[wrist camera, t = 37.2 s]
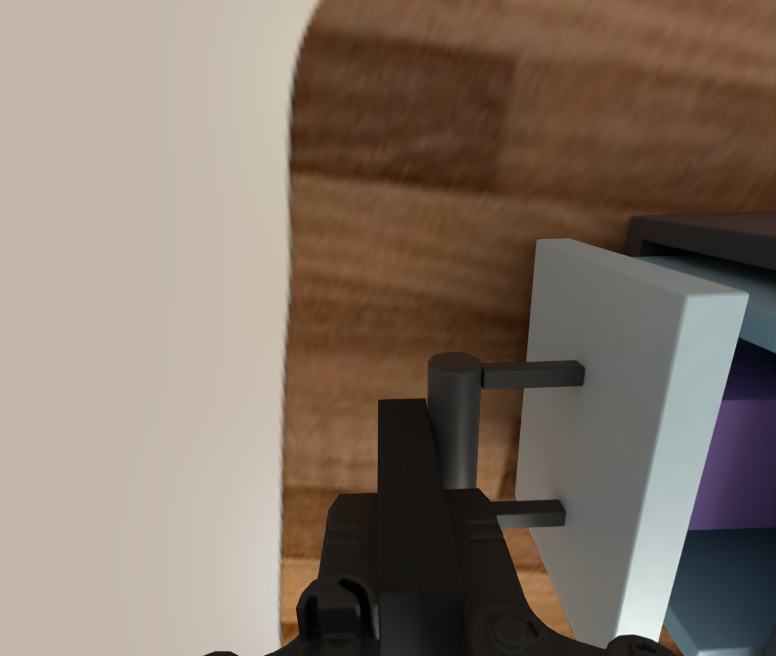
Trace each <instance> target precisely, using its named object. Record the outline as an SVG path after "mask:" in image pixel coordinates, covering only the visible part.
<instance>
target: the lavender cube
mask: <svg viewBox="0 0 776 656" xmlns="http://www.w3.org/2000/svg"><path fill="white" fill-rule="evenodd" d="M773 527H776V366H774V365H772V364H770V363H768V362H766V361H763V360H761V359H759V358H757V357H755V356H753V355H751V354H748V353H746V352H744V351H742V350H740V349H738V348H736V347H735V351H734V355H733V359H732V363H731V366H730V370H729V374H728V378H727V382H726V385H725V389H724V393H723V397H722V401H721V404H720V408H719V412H718V416H717V420H716V423H715V427H714V431H713V435H712V439H711V442H710V446H709V450H708V454H707V458H706V461H705V465H704V469H703V473H702V477H701V480H700V484H699V488H698V492H697V496H696V499H695V503H694V507H693V511H692V515H691V518H690V522H689V526H688V530H714V529H743V528H773Z"/></svg>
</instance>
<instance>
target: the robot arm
mask: <svg viewBox="0 0 776 656" xmlns="http://www.w3.org/2000/svg"><path fill="white" fill-rule="evenodd" d="M296 612H297V619H298V627H299V635H298V636H297V637H296V638H295V639H294V640H292V641H291V642H290V643H289V644H287V645H286V646H284V647H282V648H281V649H279V650H277V651H275V652H273V653H270V654H267V655H265V656H676V655H675V654H674V653H673V652H672V651H670V650H669V649H667V648H666V647H664V646H662V645H661V644H659V643H657V642H656V641H654V640H652V639H649V638H646V637H642V636H639V635H635V634H630V635H619V636H617V637H616V638H614V639H613V640H612V641H610V642H609V643H608V645H607V648H606V649H603V648H600V647H596V646H593V645H590V644H586V643H583V642H580V641H576V640H573V639H570V638H568V637H565V636H563V635H560V634H558V633H557V632H555V631H554V630H552V629H550V628H549V627H547V626H546V625H545V624H544V623H543V622H542V621H541V620H540V619H539V618H538V617H537V616H536V615H535V614H534V612H533V611H532V610H531V608H530V607H529V605H528V603H527V601H526V599H525V596H524V594H523V591H522V588H521V585H520V582H519V579H518V576H517V573H516V571H515V568H514V565H513V562H512V559H511V556H510V553H509V550H508V548H507V545H506V542H505V539H504V538H503V533H502V530H501V527H500V525H499V524H498V519H497V516H496V513H495V510H494V507H493V504H492V502H491V501H490V500H489V499H488V498H487V497H486V496H485V495H484V494H483V493H482V491H481V490H480V489H479V488H469V489H444V487H443V482H442V477H441V472H440V467H439V463H438V458H437V453H436V448H435V443H434V439H433V434H432V429H431V424H430V419H429V415H428V410H427V405H426V400H425V398H418V399H387V400H378V493H360V494H339V495H338V497H337V498H336V500H335V501H334V503H333V504H332V506H331V507H330V508H329V510H328V517H327V523H326V531H325V536H324V542H323V548H322V555H321V561H320V568H319V574H318V579H316V580H314V581H312V582H311V584H310V585H309V586H308V587H307V588H306V589H305V590H304V592H303V593H302V594H301V597H300V599H299V602H298V604H297V607H296ZM204 656H238V655H236V654H234V653H232V652H229V651H226V652H225V651H215V652H212V653H209V654H207V655H204Z"/></svg>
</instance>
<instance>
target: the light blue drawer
mask: <svg viewBox="0 0 776 656" xmlns="http://www.w3.org/2000/svg"><path fill="white" fill-rule="evenodd" d="M735 347H736V348H738V349H740V350H742V351H744V352H746V353H748V354H751V355H753V356H755V357H757V358H759V359H761V360H763V361H766V362H768V363H770V364H772V365H774V366H776V270H772V269H767V268H763V267H758V266H754V265H749V264H745V263H741V262H736V261H732V260H727V259H723V258H718V257H714V256H709V255H680V256H651V257H629V256H626V255H622V254H619V253H616V252H612V251H609V250H606V249H602V248H599V247H596V246H593V245H589V244H586V243H583V242H579V241H576V240H573V239H569V238H559V239H538V240H537V242H536V254H535V265H534V277H533V289H532V301H531V312H530V324H529V336H528V348H527V359H526V362H508V363H481V361H480V360H479V359H478V358H476V357H475V356H472V355H470V354H466V353H459V352H447V353H441V354H437V355H435V356H433V357H431V358H430V359H429V361H428V415H429V419H430V424H431V429H432V434H433V439H434V443H435V448H436V453H437V458H438V463H439V467H440V472H441V477H442V482H443V487H444V489H469V488H476V481H477V460H478V439H479V417H480V396H481V386H482V388H483V389H484V390H492V389H519V388H524V395H523V406H522V418H521V430H520V442H519V453H518V465H517V477H516V489H515V498H516V500H517V501H499V502H492V504H493V507H494V510H495V513H496V516H497V519H498V524H499V525H500V527H501V529H510V528H529V531H530V533H531V535H532V538H533V540H534V542H535V545H536V547H537V549H538V552H539V554H540V556H541V559H542V561H543V563H544V566H545V568H546V570H547V573H548V575H549V577H550V580H551V582H552V584H553V587H554V589H555V591H556V594H557V596H558V598H559V601H560V603H561V606H562V608H563V610H564V613H565V615H566V617H567V620H568V622H569V624H570V627H571V629H572V631H573V634H574V636H575V638H576V641H580V642H583V643H586V644H590V645H593V646H596V647H600V648H603V649H606V648H607V645H608V643H609V642H610V641H612V640H613V639H614V638H616V637H617V636H619V635H630V634H635V635H639V636H642V637H646V638H649V639H652V640H654V641H656V642H657V643H658V640H659V636H660V632H661V629H662V625H663V624H664V626H665V627H666V629H667V630H668V632H669V634H670V635H671V637H672V638H673V640H674V641H675V643H676V645H677V646H678V648H679V649H680V651H681V652H682V654H683V656H763V653H764V651H765V648H766V646H767V643H768V641H769V638H770V635H771V633H772V630H773V628H774V625H775V623H776V527H773V528H743V529H714V530H688V526H689V522H690V518H691V515H692V511H693V507H694V503H695V499H696V496H697V492H698V488H699V484H700V480H701V477H702V473H703V469H704V465H705V461H706V458H707V454H708V450H709V446H710V442H711V439H712V435H713V431H714V427H715V423H716V420H717V416H718V412H719V408H720V404H721V401H722V397H723V393H724V389H725V385H726V382H727V378H728V374H729V370H730V366H731V363H732V359H733V355H734V351H735Z"/></svg>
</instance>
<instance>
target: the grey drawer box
mask: <svg viewBox="0 0 776 656" xmlns="http://www.w3.org/2000/svg"><path fill="white" fill-rule="evenodd" d="M680 255H709V256H714V257H718V258H723V259H727V260H732V261H736V262H741V263H745V264H749V265H754V266H758V267H763V268H767V269H772V270H776V211H770V212H741V213H712V214H683V215H654V216H633V217H632V219H631V226H630V232H629V238H628V245H627V251H626V256H629V257H651V256H680ZM763 656H776V623H775V625H774V628H773V630H772V633H771V635H770V638H769V641H768V643H767V646H766V648H765V651H764V653H763Z"/></svg>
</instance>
